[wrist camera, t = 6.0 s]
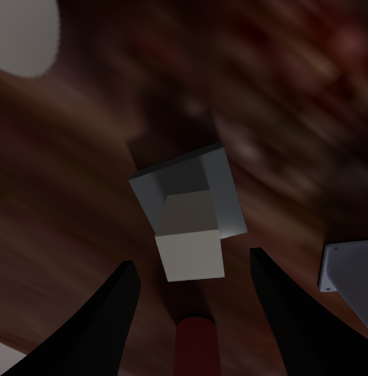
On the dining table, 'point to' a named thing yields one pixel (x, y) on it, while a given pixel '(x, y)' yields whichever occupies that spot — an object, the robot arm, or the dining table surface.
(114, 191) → the dining table surface
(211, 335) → the beer can
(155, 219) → the plate
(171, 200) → the cream block
